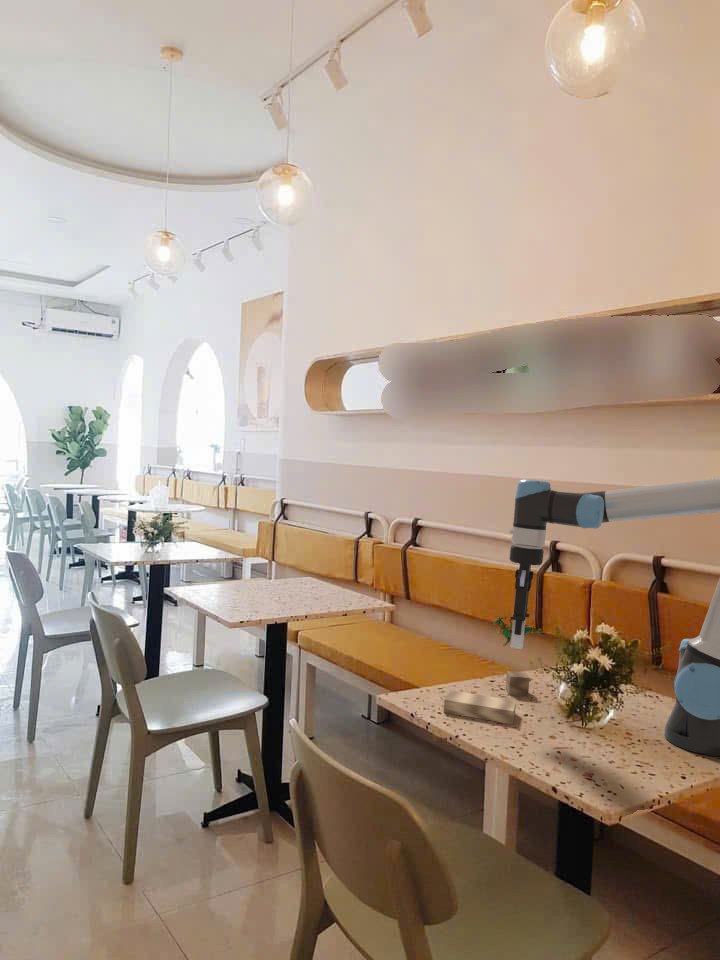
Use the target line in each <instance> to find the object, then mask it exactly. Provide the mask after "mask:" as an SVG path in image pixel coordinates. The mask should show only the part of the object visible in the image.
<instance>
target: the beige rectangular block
mask: <svg viewBox="0 0 720 960" xmlns="http://www.w3.org/2000/svg"><path fill="white" fill-rule="evenodd" d="M443 702H444V703H443V713H447V714H450V715H457V716H463V717H468V718H475V719H481V720H487V721H492V722H499V723H503V724H508V725H513V723H514V719H515V716H516V710H517V709H516V707H517V700H512V699H506V698H501V697H496V696H494V697H493V696H489V695H483V694H475V693H472V692H471V693H470V692H464V691H458V690H453V689H452V690H449V691H448V694H447V695H446V696H445V698H444V701H443Z"/></svg>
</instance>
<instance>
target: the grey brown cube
mask: <svg viewBox="0 0 720 960" xmlns="http://www.w3.org/2000/svg"><path fill="white" fill-rule="evenodd" d="M529 689H530V677H529V675H528V674H527V672H526V671H514V670H513V671H512V670H507V671H506V680H505V691H506V693H507V694H508V696H515V697H516V696H517V697H529V691H530V690H529Z"/></svg>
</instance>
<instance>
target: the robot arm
mask: <svg viewBox="0 0 720 960" xmlns="http://www.w3.org/2000/svg"><path fill="white" fill-rule="evenodd" d="M718 513H719V514H720V478H713V479H712V478H711V479H703V480H693V481H685V482H683V481H681V482H675V483H665V484H658V485H657V484H656V485H649V486H647V485H646V486H639V487H629V488H619V489H611V490H610V489H609V490H602V491H599V490H598V491H591V492H582V493H581V492H567V491H557V490H554V489H553V490H552V488H551V482H549V481H546V480H545V481H543V480H534V479H523V478H522V479H520V480H519V481H518V483H517V487H516V494H515V497H514V513H513V523H512V529H510V530H509V534H511V543H512V544H513V545H511V546H510V550H509V561H510V562H512V563H515V564H519V568H518V569H516V570H515V574H514V578H515V583H514V590H515V596H514V606H513V607H514V608H513V614H512V616H510V618H509V619H511V620H512V623H513V626H512V636H511V639H510V645H509V646H510V647H509V648H511V649H516V650H517V649H518V650H523V647H524V645H525V637H526V635H524V629H525V625H526V624H527V618H530V613H528V610H529V609H528V605H529V597H530V596H529V595H530V591H531V588H532V584H533V583H532V582H533V579H534V573H535V571H531V570H532V569H531V568H532V566H541V565H542V564H543V561H544V553H545V552H544V549H543V547H545V544H546V543H545V542H546V535H547V534H546V533H547V524H554V525H555V524H556V525H561V526H570V527H574V528H575V527H576V528H581V529H595V530H596V529H599V528H601V526H602V523H603V524H604V523H613V522H625V521H637V520H648V519H661V518H671V517H685V516H695V515H697V516H698V515H705V514H718ZM523 641H524V642H523ZM678 652H679V658H678V659H679V660H678V668H677V672H676V674H675V678H674V681H673V690H674V694H675V704H674V706H673V708H672V710H671V712H670V714H669V717H668V719H667V721H666V723H665V727H664V738H665V739H666V740H667V741H668V742H669V743H671V744H672V745H675V746H677V747H679V748H680V749H681V748H682V749H683V750H686V751H690V752H693V753H696V754H697V753H698V754H701V755H706V756H707V755H708V756H713V757H720V577H719V578H718V581H717V583H716V587H715V590H714V593H713V596H712V598H711V601H710V604H709V607H708V610H707V613H706V615H705V618H704V621H703V624H702V627H701V629H700V632H699V635H698V636H696V637H694V638H684V639H682V640H681V642H680V646H679V648H678Z"/></svg>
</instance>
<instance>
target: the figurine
mask: <svg viewBox="0 0 720 960" xmlns="http://www.w3.org/2000/svg"><path fill="white" fill-rule="evenodd" d="M507 619H508V616H507V615H503V616H498V617H497V619H496V620H495V621H494V623H493V626H496V625H499V626H498V630H497V632H496V634H497V635H498V634H499V635H500V634H501V635H502V636H504V638H505V639H506V642H505V643H503V644H502V646H507V645H508V644H509V643H510V642H511V636H512V626H513V620H511V619H510V618H509V619H508V620H509V623H508V624H507V625H505V622H504V621H506V620H507ZM536 628H537V627H536V626H535V625H533V626H532V627H530V624H527V625H525V629H524V635H525V636H526V635H528V634H545V633H546V631H544V630H542V628H538V629H536ZM523 642H524V643H525V640H524V641H523Z"/></svg>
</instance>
